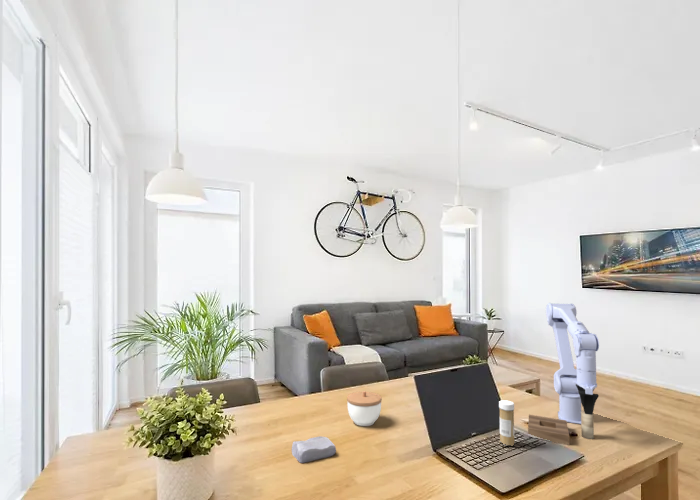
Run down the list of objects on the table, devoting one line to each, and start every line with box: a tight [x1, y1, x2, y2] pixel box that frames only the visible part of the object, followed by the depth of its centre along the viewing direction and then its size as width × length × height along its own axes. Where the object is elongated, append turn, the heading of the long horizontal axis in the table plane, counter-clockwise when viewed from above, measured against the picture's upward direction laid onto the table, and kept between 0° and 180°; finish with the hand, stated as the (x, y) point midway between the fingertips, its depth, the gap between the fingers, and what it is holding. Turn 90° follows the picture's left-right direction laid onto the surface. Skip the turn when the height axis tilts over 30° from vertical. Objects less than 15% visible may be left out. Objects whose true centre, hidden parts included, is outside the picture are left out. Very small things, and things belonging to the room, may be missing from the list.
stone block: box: [291, 435, 337, 464], centre depth 115 cm, size 12×5×10 cm
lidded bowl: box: [346, 390, 382, 427], centre depth 139 cm, size 13×13×11 cm
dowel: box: [580, 410, 595, 440], centre depth 128 cm, size 4×4×8 cm
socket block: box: [527, 413, 570, 446], centre depth 131 cm, size 14×12×3 cm
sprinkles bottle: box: [498, 399, 515, 446], centre depth 122 cm, size 5×5×14 cm
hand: (587, 410), depth 129 cm, fingers open, 7 cm apart
